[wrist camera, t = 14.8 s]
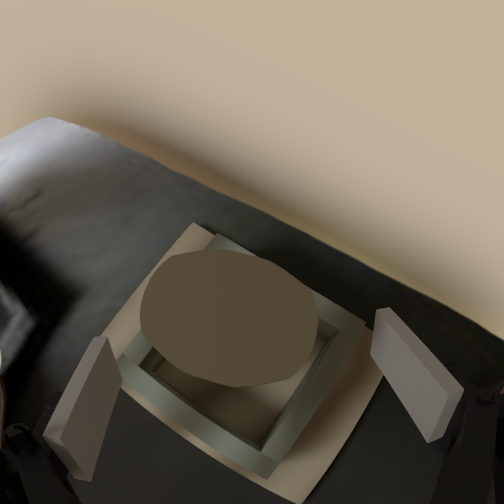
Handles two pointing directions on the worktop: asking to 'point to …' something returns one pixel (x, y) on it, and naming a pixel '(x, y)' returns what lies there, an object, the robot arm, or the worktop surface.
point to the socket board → (256, 393)
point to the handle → (229, 317)
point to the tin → (2, 409)
